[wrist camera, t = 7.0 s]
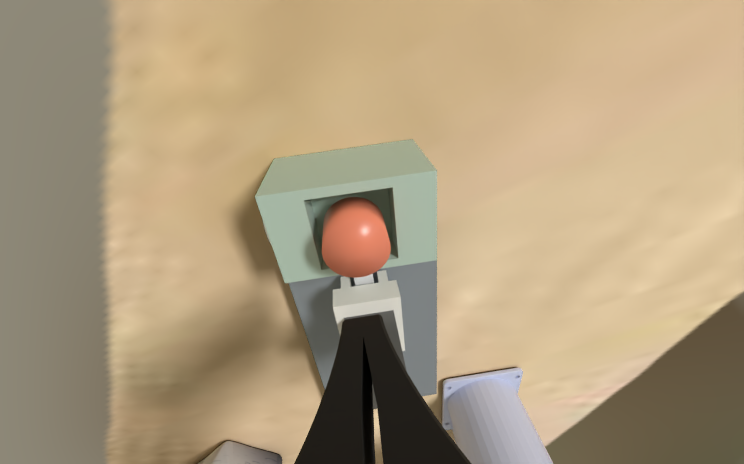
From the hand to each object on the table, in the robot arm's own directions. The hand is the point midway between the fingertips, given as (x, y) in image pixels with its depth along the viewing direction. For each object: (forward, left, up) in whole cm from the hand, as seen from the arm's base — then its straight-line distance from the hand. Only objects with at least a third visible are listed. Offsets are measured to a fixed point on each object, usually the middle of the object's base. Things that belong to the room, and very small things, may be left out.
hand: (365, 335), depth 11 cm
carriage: (-6, 0, -8) cm, 10 cm away
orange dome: (+1, 0, -6) cm, 6 cm away
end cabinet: (+1, 0, -10) cm, 10 cm away
